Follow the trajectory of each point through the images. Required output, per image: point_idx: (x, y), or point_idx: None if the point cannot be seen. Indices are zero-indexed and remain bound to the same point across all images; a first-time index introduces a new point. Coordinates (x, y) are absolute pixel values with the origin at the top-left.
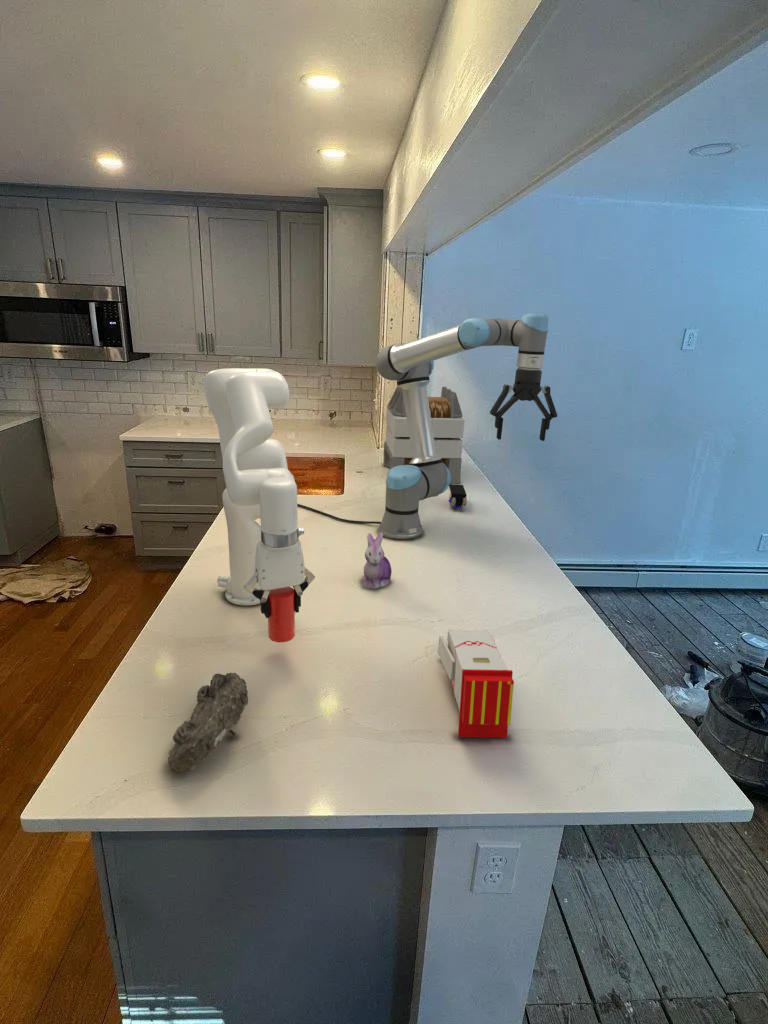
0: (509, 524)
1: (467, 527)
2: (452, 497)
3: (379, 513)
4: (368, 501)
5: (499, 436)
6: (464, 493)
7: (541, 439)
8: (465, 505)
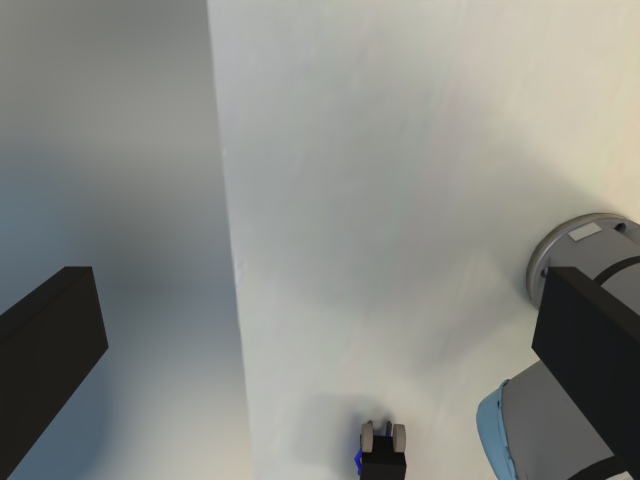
0: (257, 338)
1: (383, 312)
2: (401, 455)
3: None
4: None
5: (587, 281)
6: (366, 469)
7: (91, 293)
8: (365, 424)
